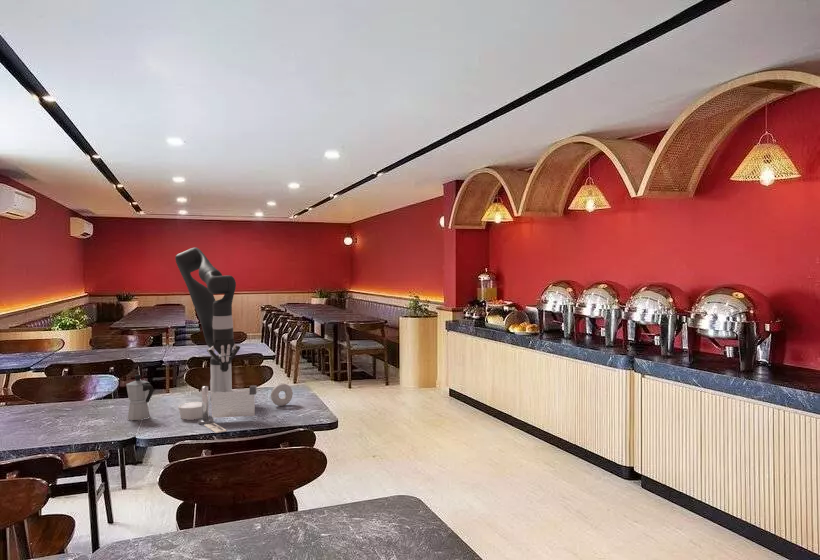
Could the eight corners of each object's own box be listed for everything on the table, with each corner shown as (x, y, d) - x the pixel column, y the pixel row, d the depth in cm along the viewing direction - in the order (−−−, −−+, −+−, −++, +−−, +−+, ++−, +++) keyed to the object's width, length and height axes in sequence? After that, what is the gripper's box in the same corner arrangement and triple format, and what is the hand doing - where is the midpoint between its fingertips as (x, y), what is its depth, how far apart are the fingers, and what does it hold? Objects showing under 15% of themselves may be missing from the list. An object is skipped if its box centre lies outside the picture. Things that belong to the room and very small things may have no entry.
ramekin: (173, 417, 241) (173, 405, 241) (199, 412, 250) (199, 400, 249) (186, 422, 234) (186, 409, 234) (212, 416, 242) (212, 404, 242)
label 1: (204, 425, 229) (204, 424, 229) (214, 423, 231) (214, 422, 231) (209, 428, 224) (209, 427, 224) (219, 427, 226) (219, 425, 226)
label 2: (210, 429, 223) (210, 428, 223) (220, 427, 226) (220, 426, 226) (216, 433, 218) (216, 431, 218) (226, 431, 221) (226, 429, 221)
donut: (291, 403, 263) (290, 381, 263) (294, 404, 261) (293, 382, 260) (269, 406, 258) (269, 384, 257) (272, 408, 255) (272, 385, 255)
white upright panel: (201, 420, 231) (201, 387, 231) (203, 418, 234) (202, 386, 234) (256, 417, 234) (255, 385, 234) (257, 415, 237) (256, 383, 237)
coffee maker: (118, 419, 240) (117, 375, 239) (136, 413, 248) (135, 371, 247) (144, 423, 233) (143, 378, 233) (162, 417, 241) (161, 374, 241)
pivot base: (194, 422, 233) (194, 420, 233) (208, 419, 237) (208, 417, 237) (202, 425, 229) (202, 423, 229) (216, 422, 233) (216, 419, 233)
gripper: (209, 329, 219) (211, 375, 220) (243, 326, 227) (244, 370, 228) (202, 327, 225) (204, 372, 226) (235, 324, 233) (237, 367, 234)
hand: (224, 371), depth 227 cm, fingers closed
